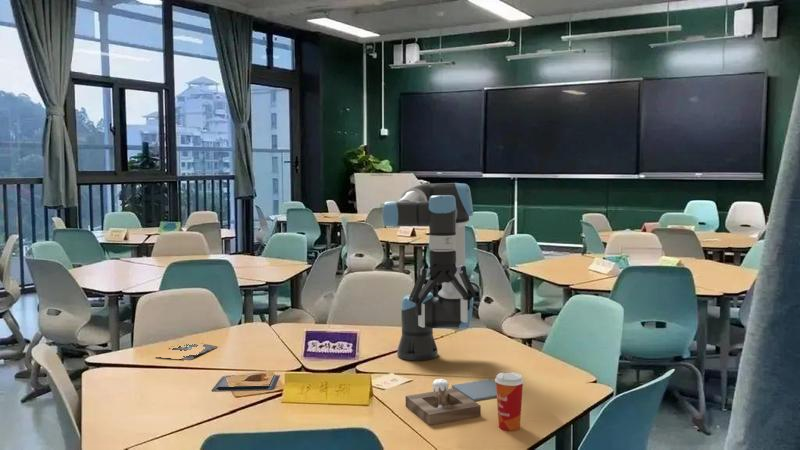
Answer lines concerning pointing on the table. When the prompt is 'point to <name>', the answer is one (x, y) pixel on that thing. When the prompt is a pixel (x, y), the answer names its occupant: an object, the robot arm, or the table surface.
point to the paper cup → (509, 400)
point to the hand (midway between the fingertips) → (443, 324)
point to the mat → (478, 389)
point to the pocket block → (457, 411)
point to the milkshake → (440, 392)
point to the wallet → (224, 387)
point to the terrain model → (191, 357)
